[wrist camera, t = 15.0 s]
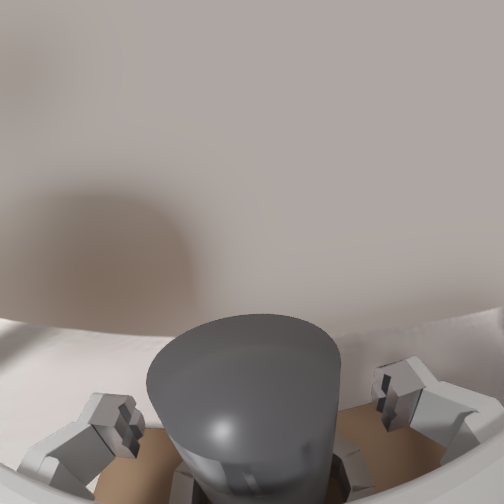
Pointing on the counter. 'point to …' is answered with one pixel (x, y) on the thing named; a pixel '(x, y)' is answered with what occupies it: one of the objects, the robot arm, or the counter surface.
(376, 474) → the mount
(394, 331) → the counter surface
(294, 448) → the grey rounded cylinder
